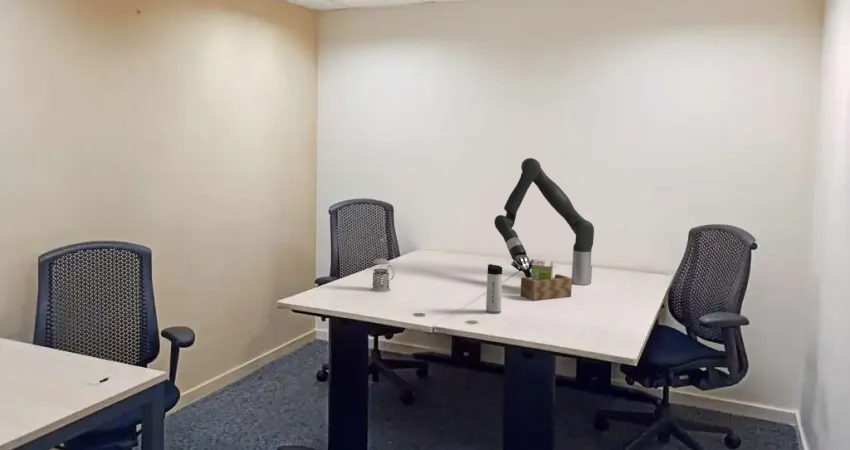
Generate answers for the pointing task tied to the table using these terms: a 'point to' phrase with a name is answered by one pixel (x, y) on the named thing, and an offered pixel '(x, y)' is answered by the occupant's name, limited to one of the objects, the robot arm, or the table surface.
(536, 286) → the display nook
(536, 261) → the tea box
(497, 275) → the travel mug
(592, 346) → the table surface
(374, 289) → the french press
